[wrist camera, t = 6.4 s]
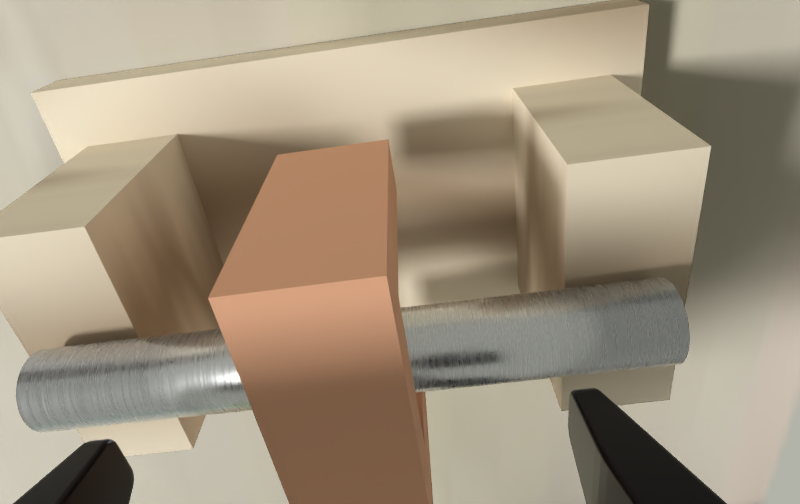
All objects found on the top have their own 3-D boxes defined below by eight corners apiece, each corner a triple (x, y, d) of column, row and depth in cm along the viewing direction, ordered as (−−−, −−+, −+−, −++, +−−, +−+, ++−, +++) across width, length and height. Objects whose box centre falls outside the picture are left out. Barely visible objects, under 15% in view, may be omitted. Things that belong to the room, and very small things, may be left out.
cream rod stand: (608, 290, 18) (696, 441, 13) (172, 340, 19) (89, 501, 14) (630, -2, 14) (780, 46, 8) (56, 80, 15) (-136, 172, 9)
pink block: (422, 353, 15) (436, 541, 10) (333, 363, 15) (308, 553, 10) (388, 139, 12) (386, 275, 7) (277, 155, 12) (207, 297, 7)
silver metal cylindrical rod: (647, 327, 11) (682, 383, 10) (84, 389, 12) (43, 450, 11) (655, 261, 10) (694, 312, 9) (50, 332, 11) (2, 389, 10)
